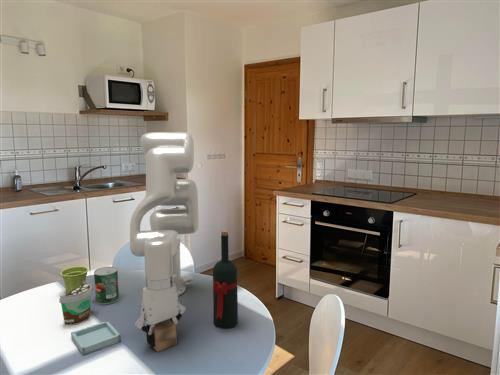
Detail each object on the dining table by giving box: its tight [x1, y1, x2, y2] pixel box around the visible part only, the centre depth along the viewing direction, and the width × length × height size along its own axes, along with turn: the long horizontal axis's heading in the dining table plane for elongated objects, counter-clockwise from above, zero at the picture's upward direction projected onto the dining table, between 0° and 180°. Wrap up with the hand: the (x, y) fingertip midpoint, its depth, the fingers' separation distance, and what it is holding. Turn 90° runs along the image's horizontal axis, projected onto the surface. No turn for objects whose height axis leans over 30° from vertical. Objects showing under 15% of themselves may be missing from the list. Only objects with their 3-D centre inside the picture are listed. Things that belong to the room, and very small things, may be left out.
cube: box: [152, 319, 178, 353], centre depth 109 cm, size 6×6×6 cm
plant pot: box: [60, 265, 89, 295], centre depth 142 cm, size 9×9×9 cm
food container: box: [58, 281, 94, 325], centre depth 123 cm, size 12×6×10 cm, turn 168°
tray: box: [70, 320, 122, 356], centre depth 111 cm, size 11×11×2 cm
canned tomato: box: [93, 266, 120, 305], centre depth 136 cm, size 8×8×11 cm
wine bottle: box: [212, 229, 239, 330], centre depth 118 cm, size 8×10×30 cm
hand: (162, 340), depth 110 cm, fingers closed on cube, 6 cm apart
